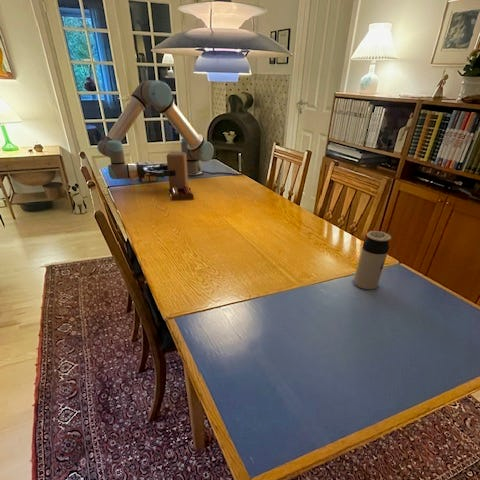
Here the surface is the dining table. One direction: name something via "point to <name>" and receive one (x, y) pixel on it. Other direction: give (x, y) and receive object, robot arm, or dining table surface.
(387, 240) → the travel mug
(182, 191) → the brown tray
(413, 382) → the dining table surface
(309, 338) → the dining table surface
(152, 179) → the puzzle cube
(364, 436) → the dining table surface
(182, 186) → the block
